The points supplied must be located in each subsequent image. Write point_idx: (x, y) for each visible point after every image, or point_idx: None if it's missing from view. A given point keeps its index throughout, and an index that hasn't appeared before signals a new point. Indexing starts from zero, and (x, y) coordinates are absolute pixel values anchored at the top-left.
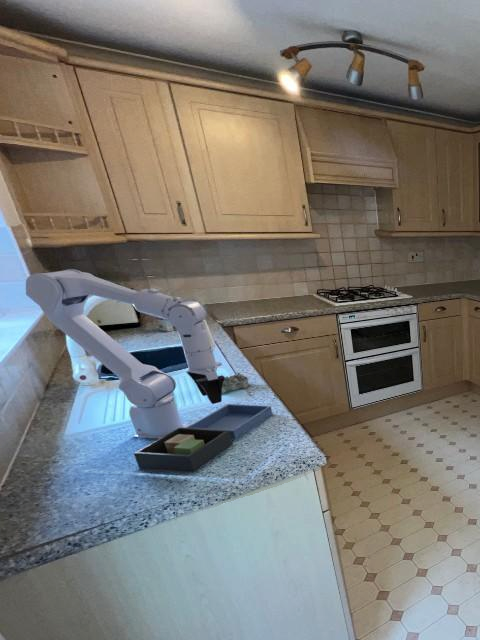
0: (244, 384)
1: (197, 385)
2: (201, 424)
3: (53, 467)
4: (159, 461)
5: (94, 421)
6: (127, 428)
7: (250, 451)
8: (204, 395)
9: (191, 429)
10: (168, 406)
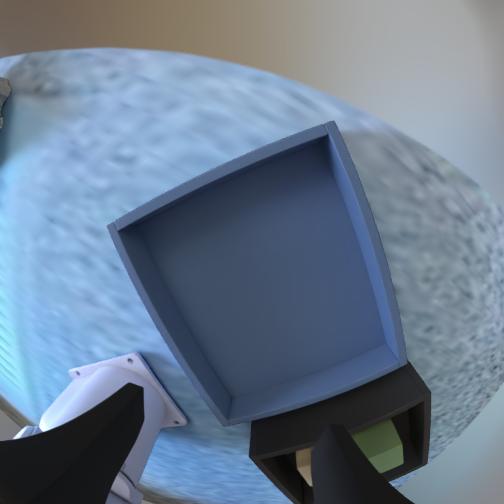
0: (1, 90)
1: (113, 478)
2: (204, 373)
3: (155, 490)
4: None
5: (6, 384)
6: (56, 397)
7: (463, 341)
8: (143, 416)
9: (302, 449)
10: (131, 466)
